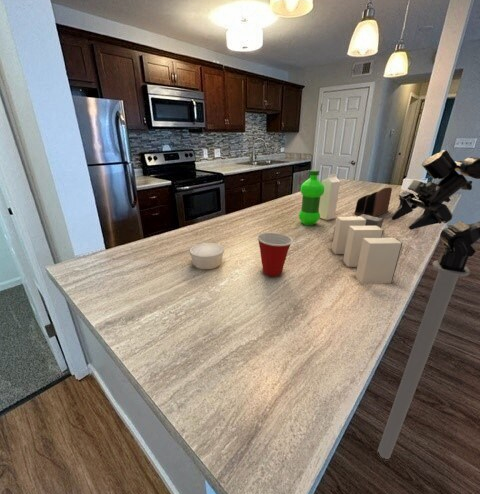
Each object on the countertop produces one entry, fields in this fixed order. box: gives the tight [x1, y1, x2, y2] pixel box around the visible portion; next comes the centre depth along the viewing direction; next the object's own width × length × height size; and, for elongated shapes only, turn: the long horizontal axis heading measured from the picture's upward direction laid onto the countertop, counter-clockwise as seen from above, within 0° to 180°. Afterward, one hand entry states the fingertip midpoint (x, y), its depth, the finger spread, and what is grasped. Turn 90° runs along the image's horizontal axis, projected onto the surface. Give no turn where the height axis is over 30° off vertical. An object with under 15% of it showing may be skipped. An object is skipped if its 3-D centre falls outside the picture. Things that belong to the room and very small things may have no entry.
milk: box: [319, 173, 341, 221], centre depth 131 cm, size 6×6×22 cm
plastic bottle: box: [298, 169, 324, 226], centre depth 122 cm, size 10×10×25 cm
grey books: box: [332, 214, 384, 242], centre depth 111 cm, size 9×26×6 cm, turn 133°
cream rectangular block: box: [342, 226, 384, 268], centre depth 86 cm, size 9×4×13 cm, turn 92°
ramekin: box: [189, 242, 225, 270], centre depth 87 cm, size 11×11×5 cm
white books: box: [331, 216, 403, 285], centre depth 86 cm, size 9×24×13 cm, turn 3°
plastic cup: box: [256, 231, 294, 277], centre depth 81 cm, size 11×11×12 cm
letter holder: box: [354, 187, 393, 217], centre depth 141 cm, size 10×20×14 cm, turn 132°
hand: (400, 223), depth 85 cm, fingers open, 9 cm apart
